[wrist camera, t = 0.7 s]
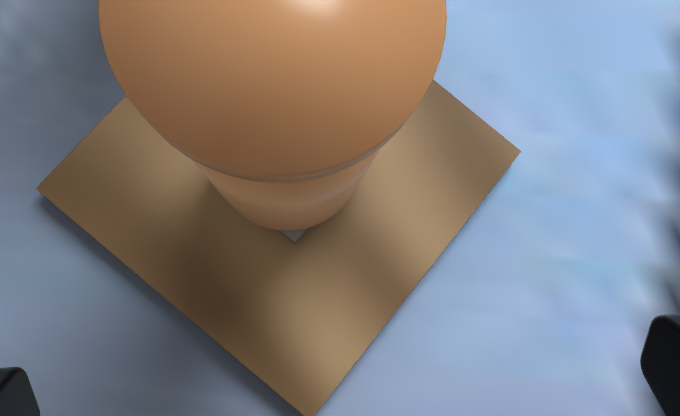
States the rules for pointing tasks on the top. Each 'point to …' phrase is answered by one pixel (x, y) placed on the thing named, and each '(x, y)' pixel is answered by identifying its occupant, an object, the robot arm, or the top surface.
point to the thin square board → (284, 238)
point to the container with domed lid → (276, 90)
